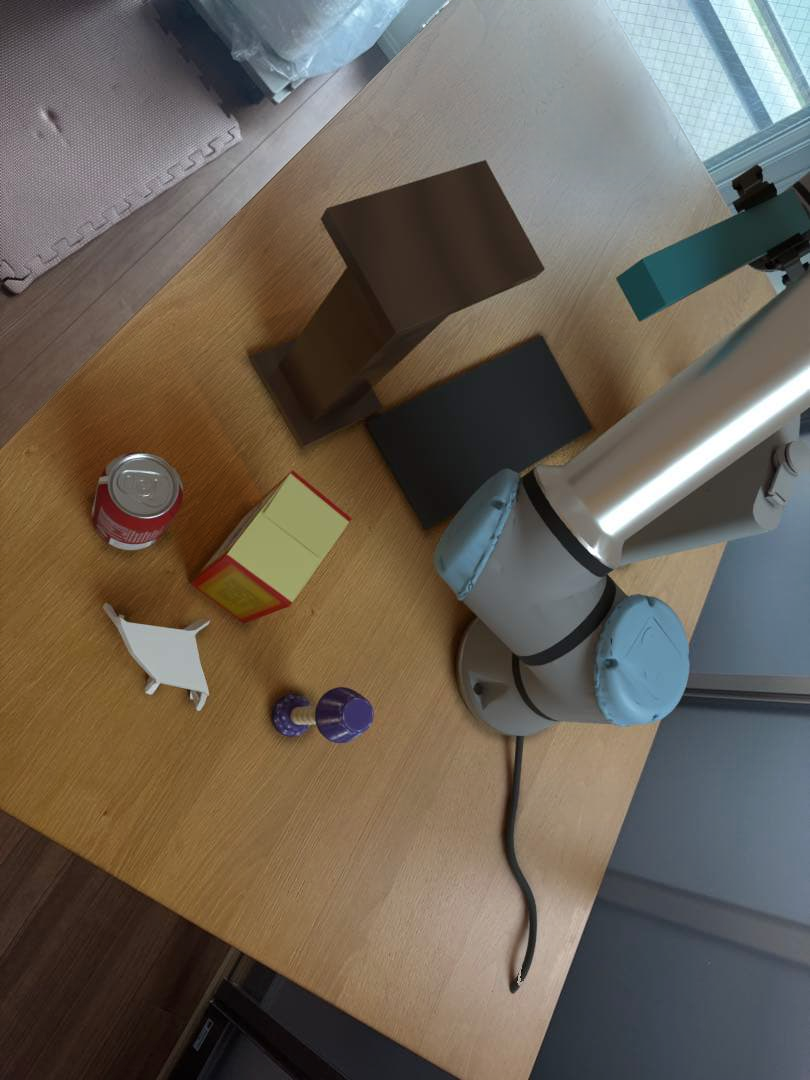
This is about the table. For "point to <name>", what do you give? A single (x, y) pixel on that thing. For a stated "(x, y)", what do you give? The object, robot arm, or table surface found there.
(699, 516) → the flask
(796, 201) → the block
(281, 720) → the toy lamp
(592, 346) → the table surface
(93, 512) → the soda can
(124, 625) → the white flat legged piece
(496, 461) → the mat
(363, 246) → the stand
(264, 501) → the baking soda box
